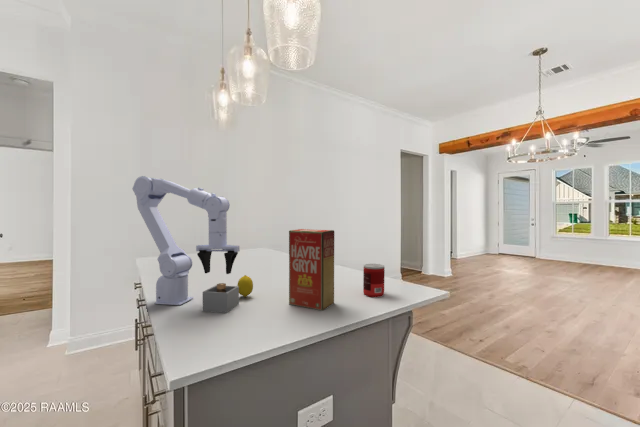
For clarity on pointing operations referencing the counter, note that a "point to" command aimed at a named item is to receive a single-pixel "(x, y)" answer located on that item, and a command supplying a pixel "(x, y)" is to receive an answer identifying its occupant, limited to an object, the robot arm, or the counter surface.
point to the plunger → (221, 287)
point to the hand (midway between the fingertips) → (217, 273)
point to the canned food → (373, 280)
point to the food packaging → (311, 268)
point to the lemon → (245, 285)
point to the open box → (220, 299)
